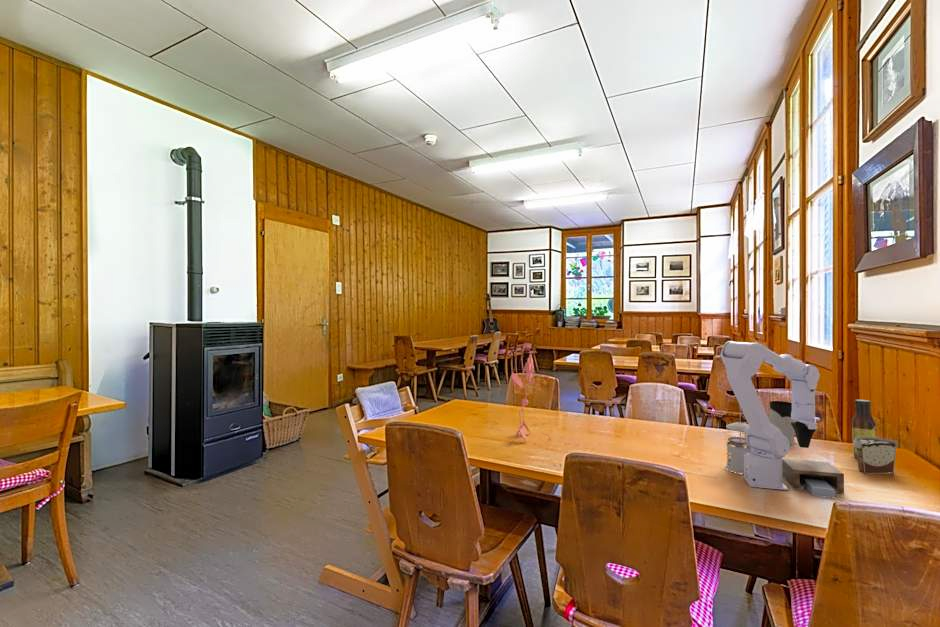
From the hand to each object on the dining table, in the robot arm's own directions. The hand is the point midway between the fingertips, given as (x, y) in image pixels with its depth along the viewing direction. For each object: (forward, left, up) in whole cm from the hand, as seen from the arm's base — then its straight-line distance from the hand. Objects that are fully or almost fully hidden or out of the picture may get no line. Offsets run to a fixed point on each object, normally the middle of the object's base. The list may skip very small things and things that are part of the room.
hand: (803, 447), depth 137 cm
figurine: (-88, +19, -10) cm, 91 cm away
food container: (+22, +13, -10) cm, 27 cm away
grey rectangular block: (0, -11, -10) cm, 15 cm away
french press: (-16, +3, -10) cm, 19 cm away
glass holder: (+9, +42, -10) cm, 44 cm away
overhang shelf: (0, -6, -9) cm, 11 cm away
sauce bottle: (+26, +26, -10) cm, 38 cm away
